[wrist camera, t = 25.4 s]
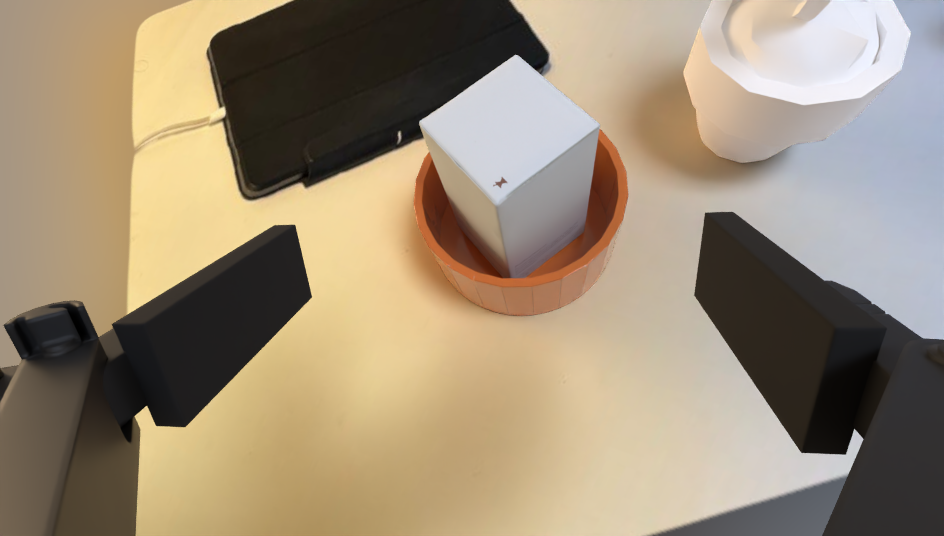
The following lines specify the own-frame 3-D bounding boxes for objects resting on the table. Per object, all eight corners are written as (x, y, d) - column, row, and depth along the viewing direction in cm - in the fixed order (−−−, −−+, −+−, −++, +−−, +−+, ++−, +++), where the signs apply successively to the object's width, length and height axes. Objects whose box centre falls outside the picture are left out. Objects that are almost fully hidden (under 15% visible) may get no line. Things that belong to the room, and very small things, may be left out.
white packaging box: (587, 232, 35) (607, 125, 24) (511, 290, 35) (493, 208, 23) (526, 171, 38) (518, 48, 27) (454, 223, 37) (413, 120, 26)
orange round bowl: (411, 290, 36) (384, 258, 30) (465, 143, 41) (451, 90, 35) (592, 337, 33) (602, 311, 27) (629, 171, 37) (645, 117, 31)
